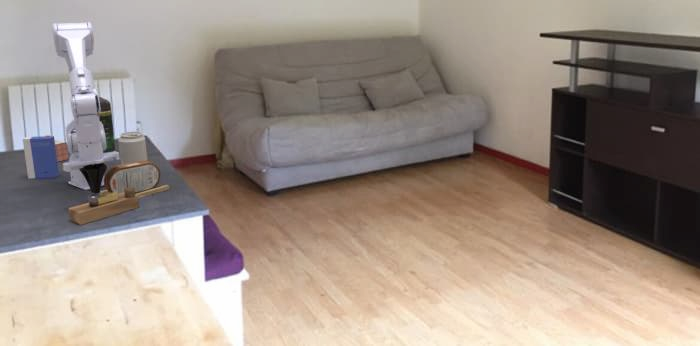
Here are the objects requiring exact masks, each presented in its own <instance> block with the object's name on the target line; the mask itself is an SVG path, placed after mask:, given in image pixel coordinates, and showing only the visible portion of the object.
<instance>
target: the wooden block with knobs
mask: <svg viewBox="0 0 700 346" xmlns="http://www.w3.org/2000/svg"><path fill="white" fill-rule="evenodd" d="M124 191H125V192H124V193H121V194H118V200H114V201H110V202H107V203H103V204H99V205H98V206H89V202H85V203H82V204H80V205H75V206H72V207H69V208H68V216H69V217H68V218H69V221H71V222H73V223H76V224H78V225H80V226H82V225H85V224H89V223H92V222H96V221H99V220H102V219H105V218H108V217H112V216H115V215H118V214H121V213H125V212H127V211H131V210H134V209H138V208H140V200H139V199H140V198H138V196H137V195H135V190H134V188H133V187H128V188H125V189H124Z"/></svg>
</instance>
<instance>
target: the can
mask: <svg viewBox="0 0 700 346" xmlns="http://www.w3.org/2000/svg"><path fill="white" fill-rule="evenodd" d="M119 136H120V137H119V138H118V141H117V142H118V148H119V149H118V150H119V157H120V164H125V163H131V162H136V161H142V160H148V153H147V142H146V137H145V135H144V134H143V132H141V131H137V130H136V131H135V130H134V131H133V130H132V131H126V132H123V133H120V134H119Z"/></svg>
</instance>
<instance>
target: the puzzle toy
mask: <svg viewBox="0 0 700 346" xmlns="http://www.w3.org/2000/svg"><path fill="white" fill-rule="evenodd" d="M54 140H55V147H56V155H57V162H58V163H59V162H64V161H67V160H68V161H69V158H70V156H69V152H68V145H67V141H63V140H60V139H54Z"/></svg>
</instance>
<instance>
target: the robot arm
mask: <svg viewBox="0 0 700 346" xmlns="http://www.w3.org/2000/svg"><path fill="white" fill-rule="evenodd" d="M51 28H52V29H51V30H52V36H53V41H54V42H53V43H54V48H55V52H56V53H57V57H60V58H62V59H64V61H65V62H66V65H67V67H68V81H69V89H70V94H71V96H70V106H71V107H70V108H71V114H72V116H73V117H72V118H73V119H72V120H71V121H70V122H69V123H68V124H66V127H65V131H66V132H65V136H66V142H67V148H68V154H70V156H69V159H68V162H67V161H66V162H64V163H62V170H63V171H64V172H67V173H70V181H68V182H67V183H68V184H69V185H71V186H74V187H77V188H79V189H82V190H84V191H89V190H90V193H92V194H94V195H97V194H99V193H100V191H101V187H103V186H104V177H105V174H106V172H107V169H108V168H107V167H108V166H107V164H105V163H107V162H112V161H118V160H120V151H119V152H118V151H116V150H115V151H114V152H108V153H103V151H105V149H106V138H105V132H104V128H103V124H102V123H101V122H100V120H99V115H100V101H99V97H100V96H99V94H98V92H97V89H96V88H95V86H96V85H95V80H94V75H93V72H92V71H91V70H90V69H88V68H87V58H88V57H89V56H91V55H93V51H94V44H95V38H94V30H93V24H92V23H91V22H90V21H87V22H68V23H57V22H54V23H53V24H52V26H51ZM97 110H98V112H99V115H97ZM104 187H105V186H104Z"/></svg>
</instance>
